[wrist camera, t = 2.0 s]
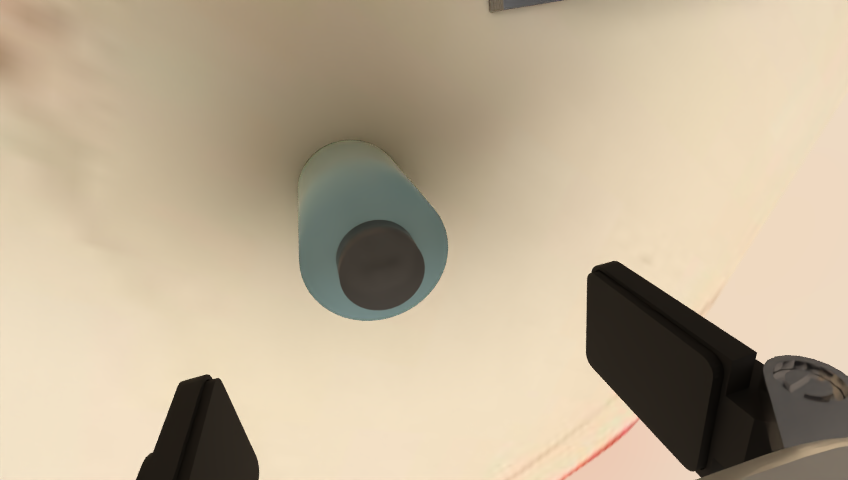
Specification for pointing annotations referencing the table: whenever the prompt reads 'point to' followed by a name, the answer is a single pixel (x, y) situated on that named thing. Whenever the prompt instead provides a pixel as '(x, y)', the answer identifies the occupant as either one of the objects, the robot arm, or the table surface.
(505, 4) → the motor
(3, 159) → the table surface
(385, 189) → the teal cylinder with cap
